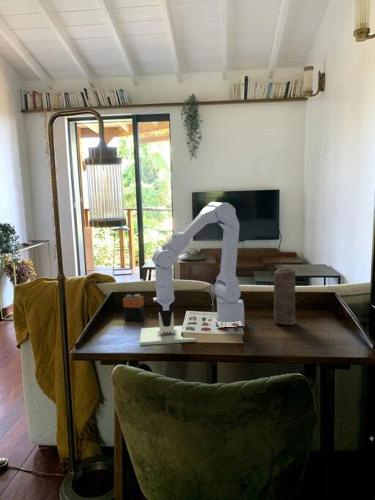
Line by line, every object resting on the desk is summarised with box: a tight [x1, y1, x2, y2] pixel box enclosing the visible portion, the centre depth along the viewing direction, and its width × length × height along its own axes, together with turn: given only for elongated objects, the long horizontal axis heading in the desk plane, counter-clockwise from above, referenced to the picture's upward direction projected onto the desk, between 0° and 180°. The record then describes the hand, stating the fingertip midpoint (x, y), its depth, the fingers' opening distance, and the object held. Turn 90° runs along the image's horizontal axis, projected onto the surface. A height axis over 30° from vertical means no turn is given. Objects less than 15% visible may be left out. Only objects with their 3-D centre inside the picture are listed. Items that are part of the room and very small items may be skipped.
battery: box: [122, 293, 146, 323], centre depth 147 cm, size 4×7×10 cm, turn 76°
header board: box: [139, 325, 196, 346], centre depth 131 cm, size 18×12×4 cm, turn 94°
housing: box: [158, 312, 175, 332], centre depth 130 cm, size 5×3×6 cm
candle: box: [273, 267, 296, 326], centre depth 136 cm, size 8×7×20 cm
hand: (166, 324), depth 130 cm, fingers closed on housing, 3 cm apart
